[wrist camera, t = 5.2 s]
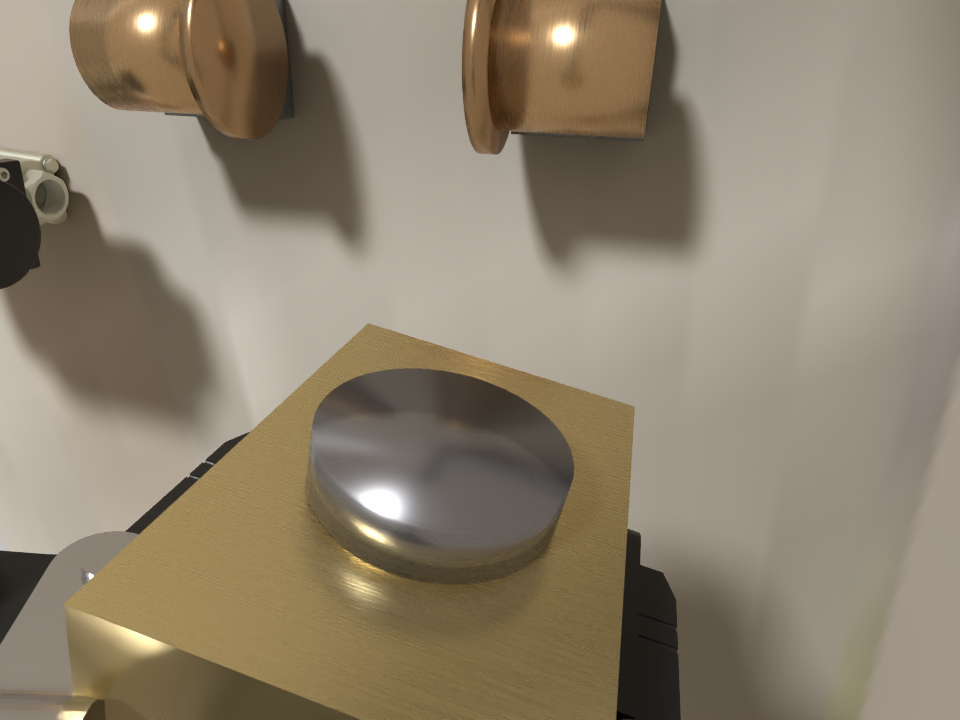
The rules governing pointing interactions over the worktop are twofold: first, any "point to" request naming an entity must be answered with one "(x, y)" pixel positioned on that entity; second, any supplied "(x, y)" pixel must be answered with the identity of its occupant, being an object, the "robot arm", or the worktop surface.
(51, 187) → the pneumatic valve
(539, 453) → the block
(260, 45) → the pipe stubs
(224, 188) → the worktop surface
